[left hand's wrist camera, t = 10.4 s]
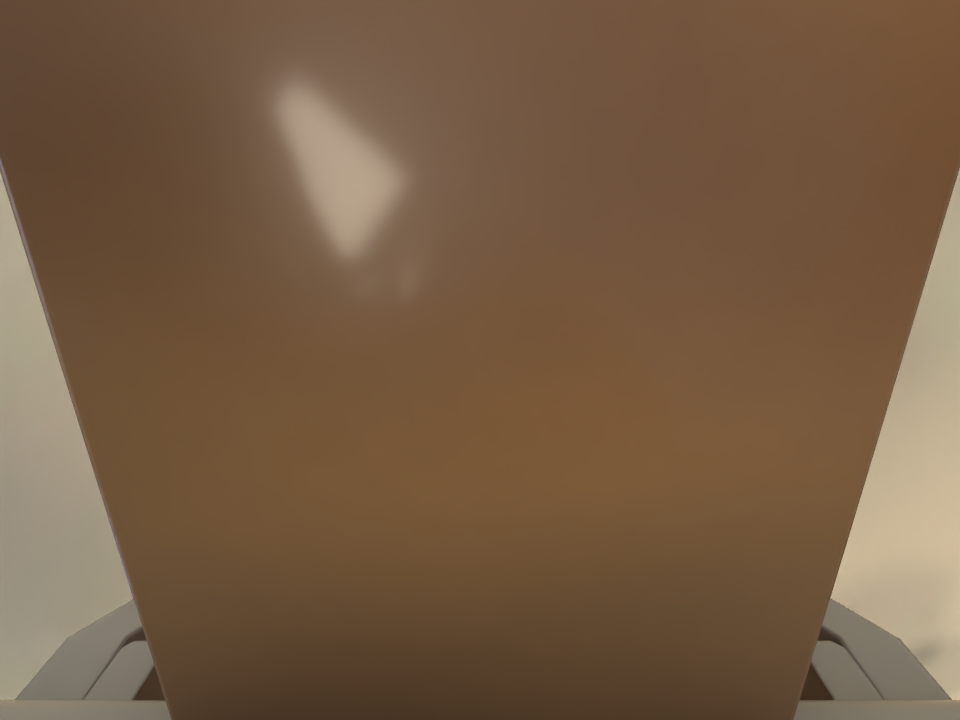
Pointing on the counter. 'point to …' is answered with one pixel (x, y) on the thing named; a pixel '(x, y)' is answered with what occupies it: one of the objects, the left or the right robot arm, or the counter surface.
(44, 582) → the counter surface
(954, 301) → the counter surface
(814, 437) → the box
